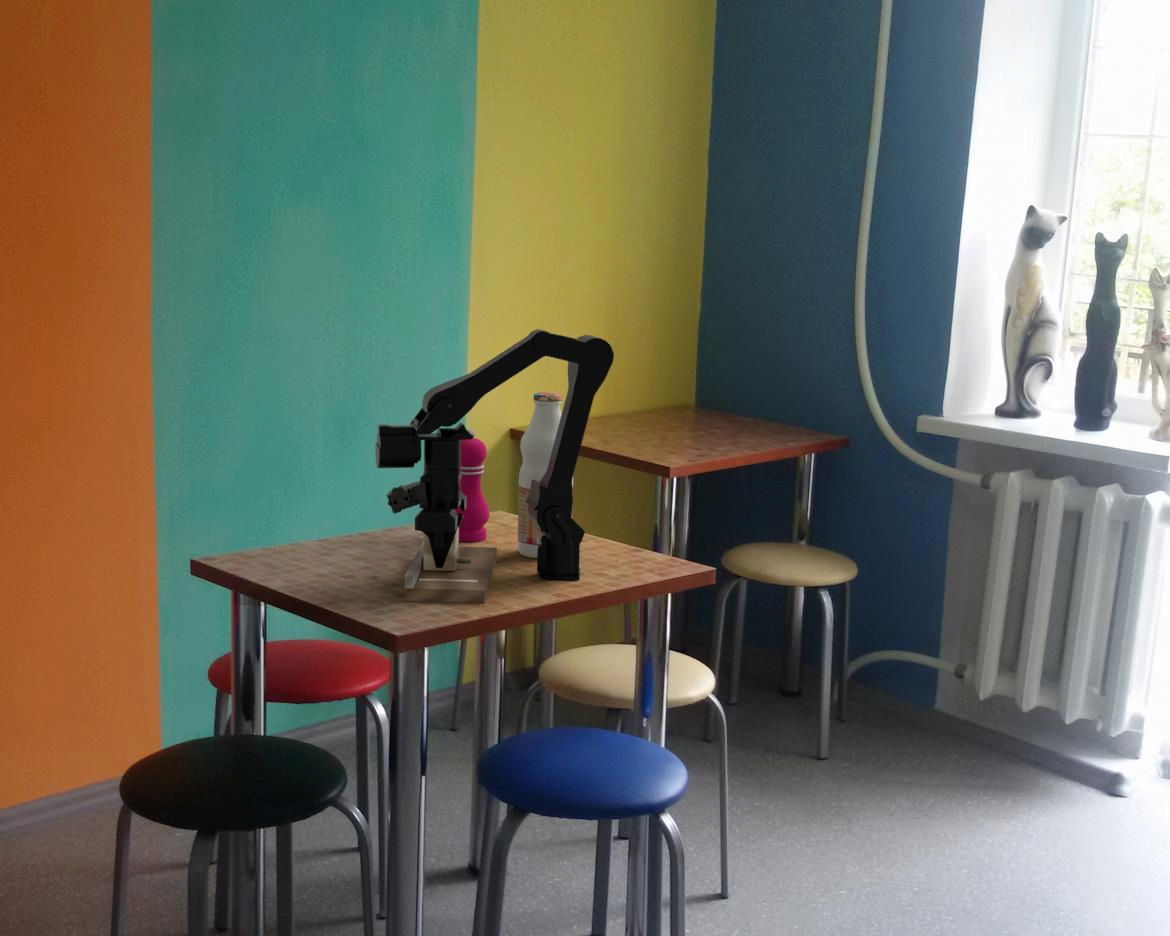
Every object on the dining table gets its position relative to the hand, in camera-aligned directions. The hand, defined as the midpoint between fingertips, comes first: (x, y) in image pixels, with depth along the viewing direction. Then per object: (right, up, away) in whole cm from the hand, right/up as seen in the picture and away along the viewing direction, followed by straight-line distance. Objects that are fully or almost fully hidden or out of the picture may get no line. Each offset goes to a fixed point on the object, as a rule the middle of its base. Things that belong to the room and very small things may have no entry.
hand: (441, 563), depth 220 cm
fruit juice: (+16, 0, +20) cm, 26 cm away
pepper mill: (+2, +2, +30) cm, 30 cm away
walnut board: (+2, -3, +1) cm, 3 cm away
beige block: (+1, -1, 0) cm, 1 cm away
